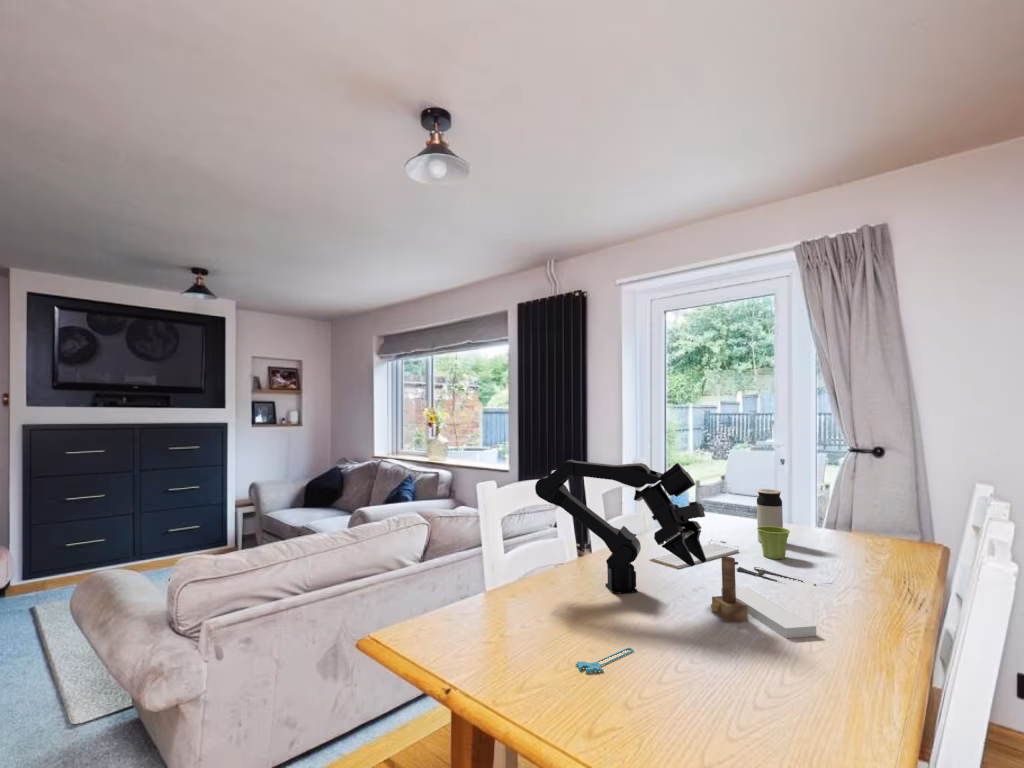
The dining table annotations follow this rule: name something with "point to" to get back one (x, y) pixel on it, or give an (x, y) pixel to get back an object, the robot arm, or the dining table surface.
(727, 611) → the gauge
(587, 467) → the robot arm
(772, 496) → the travel mug
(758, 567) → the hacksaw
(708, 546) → the baseboard
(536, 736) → the dining table surface
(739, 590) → the board
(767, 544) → the plant pot
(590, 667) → the blue flat looped piece
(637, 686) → the dining table surface
